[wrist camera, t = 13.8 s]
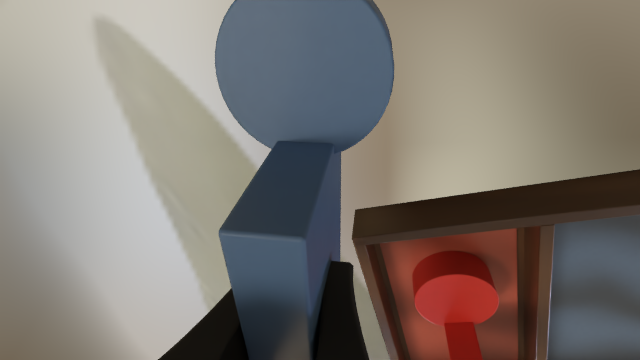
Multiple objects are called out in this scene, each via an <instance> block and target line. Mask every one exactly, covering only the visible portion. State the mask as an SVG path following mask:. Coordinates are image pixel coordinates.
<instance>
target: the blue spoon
mask: <svg viewBox="0 0 640 360" xmlns="http://www.w3.org/2000/svg"><path fill="white" fill-rule="evenodd" d="M215 67H216V75H217V79H218V83H219V87H220V90H221V93H222V96H223V98H224V100H225V102H226V104H227V106H228V108H229V110H230V111H231V113H232V114H233V116H234V118H235V119H236V120H237V121H238V123H239V124H240V125H241V126H242V127H243V128H244V129H245V130H246V131H247V132H248V133H249V134H250V135H251V136H253V137H254V138H255V139H256V140H257V141H259V142H261V143H262V144H264V145H265V146H267V147H269V148H271V149H272V150H271V152H270V153H269V155H268V156H267V158H266V159H265V161H264V162H263V164H262V165H261V167H260V168H259V170H258V171H257V173H256V174H255V176H254V177H253V179H252V180H251V182H250V184H249V185H248V187H247V188H246V190H245V191H244V193H243V194H242V196H241V197H240V199H239V200H238V202H237V203H236V205H235V207H234V208H233V210H232V211H231V213H230V214H229V216H228V217H227V219H226V220H225V222H224V223H223V225H222V226H221V228H220V230H219V238H220V242H221V246H222V250H223V254H224V258H225V262H226V266H227V270H228V275H229V279H230V283H231V287H232V291H233V295H234V299H235V303H236V307H237V312H238V316H239V320H240V324H241V328H242V332H243V336H244V340H245V344H246V349H247V353H248V357H249V360H316V358H317V351H318V344H319V333H320V323H321V313H322V303H323V293H324V287H325V283H326V279H327V275H328V271H329V267H330V263H331V261H339V262H340V210H341V205H340V204H341V202H340V201H341V200H340V199H341V151H344V150H346V149H348V148H350V147H352V146H353V145H355V144H356V143H358V142H359V141H361V140H362V139H363V138H364V137H365V136H367V134H369V133H370V132H371V131H372V129H373V128H374V127H375V126H376V124H377V123H378V122H379V120H380V118H381V117H382V115H383V113H384V111H385V109H386V106H387V105H388V102H389V99H390V95H391V92H392V87H393V80H394V60H393V51H392V43H391V38H390V34H389V30H388V27H387V24H386V22H385V19H384V17H383V15H382V14H381V12H380V10H379V8H378V7H377V6H376V4H375V3H374V2H373V0H235V1H234V2H233V4H232V5H231V6H230V8H229V9H228V11H227V13H226V15H225V16H224V19H223V22H222V24H221V26H220V29H219V33H218V37H217V41H216V50H215Z"/></svg>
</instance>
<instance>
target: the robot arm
mask: <svg viewBox="0 0 640 360" xmlns="http://www.w3.org/2000/svg"><path fill="white" fill-rule="evenodd" d="M158 360H249V357H248V353H247V349H246V344H245V340H244V336H243V332H242V328H241V324H240V320H239V316H238V312H237V307H236V303H235V299H234V295H233V291H232V288H231V289H230V290H229V291H228V293H227V294H226V295H225V296H224V297H223V298H222V299H221V300H220V301H219V302H218V303H217V304H216V305H215V307H214V308H213V309H212V310H211V311H210V312H209V313H208V314H207V315H206V316H205V317H204V318H203V319H202V320H201V321H200V322H199V323H198V324H197V325H195V326H194V327H193V328H192V329H191V330H190V331H189V332H188V333H187V334H186V335H185V336H184V337H183V338H182V339H181V340H180V341H179V342H178V343H177V344H175V345H174V346H173V347H172V348H171V349H170V350H169V351H168V352H166V353H165V354H164V355H163V356H162V357H161V358H160V359H158ZM316 360H369V357H368V353H367V350H366V346H365V343H364V339H363V335H362V331H361V326H360V322H359V317H358V313H357V307H356V302H355V295H354V286H353V265H352V264H351V263H349V262H339V261H331V263H330V267H329V271H328V275H327V279H326V283H325V287H324V293H323V303H322V313H321V323H320V333H319V344H318V351H317V358H316Z"/></svg>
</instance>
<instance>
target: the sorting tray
mask: <svg viewBox="0 0 640 360" xmlns="http://www.w3.org/2000/svg"><path fill="white" fill-rule="evenodd" d="M352 240H353V243H354V246H355V249H356V253H357V256H358V259H359V262H360V265H361V269H362V272H363V275H364V278H365V281H366V284H367V287H368V291H369V294H370V297H371V300H372V303H373V306H374V310H375V313H376V316H377V319H378V322H379V325H380V328H381V332H382V335H383V338H384V341H385V344H386V347H387V351H388V354H389V357H390V360H450V355H449V350H448V344H447V338H446V332H445V327H444V326H441V325H437V324H434V323H432V322H430V321H428V320H427V319H425V318H424V317H423V316H422V315H421V314H420V313H419V312H418V311H417V309H416V306H415V302H414V292H413V281H412V274H413V271H414V269H415V267H416V266H417V264H418V263H419V262H420V261H421V260H423V259H424V258H426V257H428V256H430V255H432V254H435V253H438V252H443V251H460V252H465V253H469V254H472V255H474V256H476V257H478V258H479V259H481V260H482V261H483V262H484V263H485V264H486V265H487V267H488V268H489V271H490V274H491V276H492V279H493V282H494V285H495V288H496V290H497V293H498V296H499V305H498V308H497V310H496V312H495V313H494V314H493V315H492V316H491V317H490V318H489V319H487V320H485V321H484V322H482V323H479V324H476V325H474V327H475V331H476V334H477V338H478V342H479V346H480V350H481V354H482V358H483V360H640V170H633V171H626V172H618V173H612V174H604V175H597V176H590V177H583V178H576V179H569V180H563V181H555V182H548V183H541V184H534V185H527V186H519V187H512V188H506V189H498V190H492V191H484V192H477V193H470V194H463V195H456V196H449V197H442V198H436V199H428V200H421V201H414V202H407V203H400V204H393V205H385V206H378V207H371V208H364V209H357V210H355V217H354V225H353V233H352Z"/></svg>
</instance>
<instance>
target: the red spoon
mask: <svg viewBox="0 0 640 360" xmlns="http://www.w3.org/2000/svg"><path fill="white" fill-rule="evenodd" d="M412 281H413V292H414V302H415V306H416V309H417V311H418V312H419V313H420V314H421V315H422V316H423V317H424V318H425V319H427V320H428V321H430V322H432V323H434V324H437V325H441V326H444V327H445V332H446V338H447V344H448V350H449V355H450V360H483V358H482V354H481V350H480V346H479V342H478V338H477V334H476V331H475V327H474V325H476V324H479V323H482V322H484V321H485V320H487V319H489V318H490V317H491V316H492V315H493V314H494V313H495V312H496V310H497V308H498V305H499V296H498V293H497V290H496V288H495V285H494V282H493V279H492V276H491V274H490V271H489V268H488V267H487V265H486V264H485V263H484V262H483V261H482V260H481V259H479V258H478V257H476V256H474V255H472V254H469V253H465V252H460V251H443V252H438V253H435V254H432V255H430V256H428V257H426V258H424V259H423V260H421V261H420V262H419V263H418V264H417V266H416V267H415V269H414V271H413V274H412Z"/></svg>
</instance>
